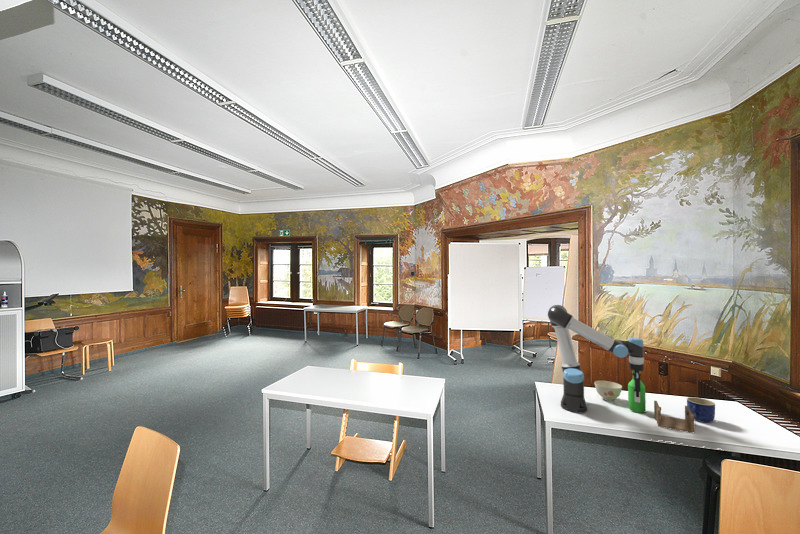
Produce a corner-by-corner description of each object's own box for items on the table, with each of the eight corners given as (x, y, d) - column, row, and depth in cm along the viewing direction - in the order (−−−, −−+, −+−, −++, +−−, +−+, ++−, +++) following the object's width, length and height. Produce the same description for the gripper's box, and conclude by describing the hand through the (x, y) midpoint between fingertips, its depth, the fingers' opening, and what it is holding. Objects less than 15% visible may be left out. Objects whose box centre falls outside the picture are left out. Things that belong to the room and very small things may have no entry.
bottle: (648, 414, 202) (648, 372, 203) (632, 412, 204) (632, 372, 204) (641, 408, 211) (640, 368, 211) (625, 407, 213) (625, 368, 213)
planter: (709, 426, 186) (709, 406, 187) (682, 417, 197) (682, 399, 198) (719, 421, 192) (719, 402, 192) (692, 413, 203) (692, 395, 203)
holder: (658, 426, 186) (658, 409, 186) (654, 415, 200) (654, 400, 200) (694, 433, 178) (694, 415, 178) (687, 421, 192) (687, 405, 192)
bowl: (591, 398, 227) (591, 384, 227) (598, 393, 238) (598, 379, 238) (618, 405, 215) (618, 390, 215) (625, 399, 226) (625, 384, 226)
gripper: (645, 368, 197) (646, 406, 196) (641, 360, 215) (642, 395, 215) (630, 366, 201) (630, 403, 200) (627, 358, 219) (628, 393, 219)
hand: (636, 399), depth 207 cm, fingers closed on bottle, 9 cm apart
